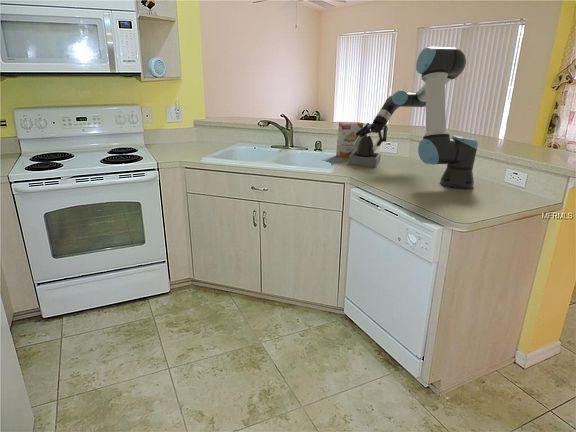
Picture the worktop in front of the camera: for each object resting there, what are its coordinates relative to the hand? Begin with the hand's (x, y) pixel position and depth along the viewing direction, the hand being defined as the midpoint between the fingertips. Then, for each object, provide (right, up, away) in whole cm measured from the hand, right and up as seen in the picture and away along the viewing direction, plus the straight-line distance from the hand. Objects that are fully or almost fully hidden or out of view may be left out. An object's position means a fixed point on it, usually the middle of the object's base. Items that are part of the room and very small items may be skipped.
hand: (363, 147), depth 224 cm
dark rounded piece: (+1, -7, +5) cm, 9 cm away
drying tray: (+1, -8, +5) cm, 9 cm away
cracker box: (-6, -2, +21) cm, 21 cm away
